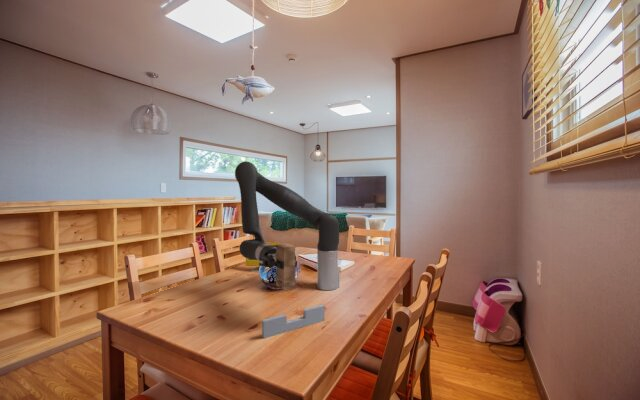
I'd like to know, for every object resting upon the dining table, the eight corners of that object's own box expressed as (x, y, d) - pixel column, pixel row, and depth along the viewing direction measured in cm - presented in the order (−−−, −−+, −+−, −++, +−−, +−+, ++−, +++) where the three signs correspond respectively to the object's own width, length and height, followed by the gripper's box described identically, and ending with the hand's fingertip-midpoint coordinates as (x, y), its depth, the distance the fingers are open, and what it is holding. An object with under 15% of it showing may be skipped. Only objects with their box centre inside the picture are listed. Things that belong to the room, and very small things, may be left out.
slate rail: (321, 318, 104) (321, 304, 104) (324, 320, 102) (324, 305, 102) (262, 336, 91) (261, 319, 91) (264, 338, 90) (264, 321, 90)
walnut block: (286, 283, 104) (286, 243, 104) (295, 288, 99) (295, 246, 99) (276, 285, 102) (276, 244, 102) (284, 290, 97) (284, 247, 97)
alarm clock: (244, 271, 163) (244, 242, 163) (250, 267, 171) (250, 240, 170) (280, 273, 160) (280, 243, 159) (284, 269, 167) (284, 241, 167)
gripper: (250, 247, 109) (269, 256, 94) (285, 243, 116) (308, 251, 102) (250, 267, 109) (269, 279, 94) (285, 262, 117) (308, 273, 102)
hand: (289, 265), depth 98 cm, fingers closed on walnut block, 4 cm apart
